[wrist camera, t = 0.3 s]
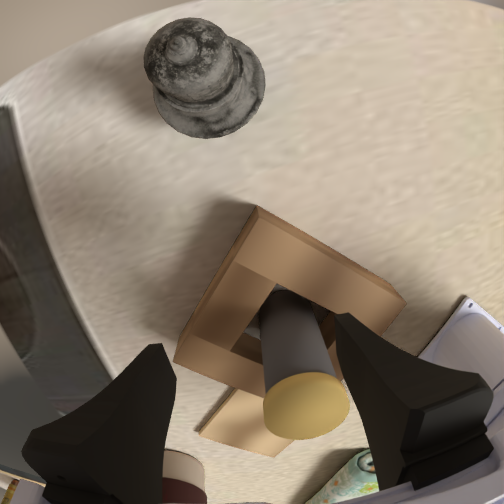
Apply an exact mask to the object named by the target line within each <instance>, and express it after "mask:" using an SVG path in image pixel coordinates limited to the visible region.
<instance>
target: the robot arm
mask: <svg viewBox="0 0 504 504" xmlns="http://www.w3.org/2000/svg"><path fill="white" fill-rule="evenodd" d="M469 304H470V305H469ZM334 321H335V337H336V354H337V358H338V361H339V365H340V368H341V372H342V375H343V377H344V379H345V382H346V384H347V386H348V388H349V391H350V393H351V395H352V398H353V400H354V402H355V405H356V407H357V409H358V411H359V414H360V417H361V419H362V422H363V426H364V429H365V433H366V436H367V440H368V444H369V448H370V451H371V455H372V460H373V464H374V468H375V473H376V477H377V482H378V487H379V492H376V493H372V494H369V495H365V496H361V497H357V498H353V499H349V500H345V501H341V502H336V503H332V504H504V326H502V325H501V324H500V323H499V322H498V321H497V320H496V319H494V318H493V317H492V316H491V315H490V314H489V313H488V312H486V311H485V310H484V309H483V308H482V307H480V306H479V305H478V304H477V303H476V302H475V301H473V300H472V299H471V298H470V297H466V298H464V299H463V301H462V302H461V304H460V305H459V306H458V308H457V309H456V310H455V312H454V313H453V314H452V316H451V317H450V318H449V320H448V321H447V322H446V324H445V325H444V326H443V327H442V329H441V330H440V331H439V332H438V334H437V335H436V336H435V337H434V339H433V340H432V341H431V342H430V343H429V345H428V346H427V347H426V348H425V349H424V350H423V352H422V353H421V354H420V355H419V356H418V357H415V356H413V355H411V354H409V353H407V352H405V351H403V350H401V349H399V348H397V347H396V346H394V345H392V344H391V343H389V342H388V341H386V340H384V339H383V338H381V337H380V336H379V335H377V334H376V333H375V332H373V331H372V330H370V329H369V328H368V327H367V326H365V325H364V324H363V323H362V322H360V321H359V320H358V319H357V318H355V317H354V316H353V315H352V314H350V313H349V312H347V313H343V314H338V315H334ZM176 381H177V378H176V375H175V373H174V371H173V369H172V366H171V364H170V362H169V359H168V357H167V355H166V352H165V350H164V347H163V345H162V343H158V344H149V345H148V346H147V347H146V348H145V349H144V350H143V351H142V352H141V353H140V354H139V355H138V356H137V357H136V358H135V359H134V360H133V361H132V362H131V363H130V364H129V365H128V366H127V367H126V368H125V369H124V370H123V372H122V373H121V374H120V375H118V376H117V377H116V378H115V379H114V380H113V381H112V382H111V383H110V384H109V385H108V386H107V387H106V388H105V389H103V390H102V391H101V392H100V393H99V394H97V395H96V396H95V397H93V398H92V399H91V400H89V401H88V402H87V403H85V404H84V405H82V406H80V407H79V408H77V409H76V410H74V411H73V412H71V413H69V414H67V415H66V416H64V417H62V418H60V419H58V420H56V421H54V422H52V423H49V424H46V425H44V426H42V427H39V428H36V429H33V430H32V431H31V433H30V435H29V437H28V439H27V441H26V443H25V445H24V446H23V448H22V451H21V452H22V456H23V458H24V459H25V461H26V462H27V463H28V464H29V465H30V467H31V468H33V469H34V470H35V471H36V472H37V473H38V474H39V475H40V476H41V477H42V478H43V479H44V480H45V481H46V482H47V484H46V486H45V488H44V487H43V486H41V485H39V484H37V483H33V482H30V481H27V480H24V479H20V481H19V483H18V485H17V487H16V490H15V492H14V494H13V497H12V499H11V501H10V504H163V500H162V478H163V459H164V448H165V441H166V436H167V432H168V427H169V423H170V419H171V414H172V410H173V405H174V401H175V394H176ZM169 504H175V503H169ZM227 504H271V503H266V502H245V503H227Z"/></svg>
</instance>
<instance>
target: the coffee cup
mask: <svg viewBox="0 0 504 504" xmlns="http://www.w3.org/2000/svg"><path fill="white" fill-rule="evenodd" d="M162 500H163V504H169V503H175V504H207V496H206V493H205V470H204V467H203V465H202V464H201V463H200V462H199V461H198V460H197V459H195V458H193V457H191V456H189V455H186V454H184V453H180V452H175V451H164V459H163V478H162Z"/></svg>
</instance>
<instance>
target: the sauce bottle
mask: <svg viewBox="0 0 504 504" xmlns="http://www.w3.org/2000/svg"><path fill="white" fill-rule="evenodd" d="M18 483H19V481H17V480H13V481H12V482H11V484H9V487H8V489H7V491H6V493H5V495H4V498H3V500H2V503H1V504H10V501H11V499H12V497H13V494H14V492H15V490H16V487H17V485H18Z"/></svg>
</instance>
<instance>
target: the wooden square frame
mask: <svg viewBox="0 0 504 504" xmlns="http://www.w3.org/2000/svg"><path fill="white" fill-rule="evenodd" d="M276 283H278V284H279V285H281V286H283V287H285V288H287V289H289V290H291V291H293V292H295V293H297V294H299V295H301V296H303V297H305V298H307V299H309V300H311V301H313V302H315V303H317V304H319V305H321V306H323V307H325V308H327V309H329V310H331V312H330V313H329V314H328V315H327V317H326V318H325V319H324V321H323V322H322V323H321V325H320V326H319V329H320V332H321V335H322V337H323V340H324V343H325V346H326V348H327V351H328V354H329V357H330V360H331V363H332V365H333V368H334V371H335V374H336V377H337V379H338V380H339V381H341V380H342V379H343V378H344V377H343V375H342V372H341V368H340V365H339V361H338V358H337V354H336V337H335V321H334V315H338V314H343V313H347V312H349V313H350V314H352V315H353V316H354V317H355V318H357V319H358V320H359V321H360V322H362V323H363V324H364V325H365V326H367V327H368V328H369V329H370V330H372V331H373V332H375V333H376V334H377V335H379V336H381V335H382V334H383V333H384V331H385V330H386V329H387V328H388V327H389V325H390V324H391V323H392V322H393V320H394V319H395V318H396V317H397V315H398V314H399V313H400V311H401V310H402V309H403V308H404V306H405V305H406V304H407V303H406V302H405V301H404V300H403V298H402V297H401V296H400V295H399V294H398V293H397V291H396V290H395V289H394V288H393V287H392V286H391V284H389V283H387V282H386V281H384V280H383V279H381V278H379V277H378V276H376V275H375V274H373V273H371V272H370V271H368V270H367V269H365V268H363V267H362V266H360V265H358V264H357V263H355V262H353V261H352V260H350V259H348V258H347V257H345V256H344V255H342V254H340V253H339V252H337V251H335V250H334V249H332V248H330V247H328V246H327V245H325V244H323V243H322V242H320V241H318V240H317V239H315V238H313V237H312V236H310V235H308V234H306V233H305V232H303V231H301V230H300V229H298V228H296V227H294V226H293V225H291V224H289V223H287V222H286V221H284V220H282V219H281V218H279V217H277V216H275V215H273V214H272V213H270V212H268V211H266V210H265V209H263V208H261V207H259V206H258V205H257V206H256V207H255V209H254V211H253V212H252V214H251V216H250V217H249V219H248V221H247V222H246V224H245V226H244V228H243V229H242V231H241V233H240V234H239V236H238V238H237V239H236V241H235V243H234V244H233V246H232V248H231V249H230V251H229V253H228V254H227V256H226V258H225V260H224V261H223V263H222V265H221V266H220V268H219V270H218V271H217V273H216V275H215V277H214V278H213V280H212V282H211V283H210V285H209V287H208V289H207V290H206V292H205V294H204V295H203V297H202V299H201V301H200V302H199V304H198V306H197V307H196V309H195V311H194V313H193V314H192V316H191V318H190V320H189V321H188V323H187V325H186V327H185V328H184V330H183V332H182V334H181V335H180V337H179V340H178V344H177V348H176V351H175V355H174V359H173V362H174V363H176V364H179V365H181V366H183V367H185V368H188V369H190V370H192V371H195V372H197V373H199V374H202V375H204V376H207V377H209V378H211V379H214V380H216V381H219V382H221V383H224V384H226V385H229V386H232V387H234V388H237V389H240V390H242V391H245V392H248V393H250V394H253V395H256V396H259V397H262V398H264V397H265V395H266V393H265V382H264V370H263V359H262V348H261V340H259V339H256V338H254V337H252V336H250V335H248V334H245V333H243V331H244V330H245V329H246V327H247V326H248V324H249V323H250V321H251V320H252V318H253V317H254V316H255V314H256V313H257V311H258V310H259V308H260V307H261V305H262V304H263V303H264V301H265V300H266V298H267V297H268V295H269V294H270V292H271V291H272V289H273V288H274V286H275V285H276Z"/></svg>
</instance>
